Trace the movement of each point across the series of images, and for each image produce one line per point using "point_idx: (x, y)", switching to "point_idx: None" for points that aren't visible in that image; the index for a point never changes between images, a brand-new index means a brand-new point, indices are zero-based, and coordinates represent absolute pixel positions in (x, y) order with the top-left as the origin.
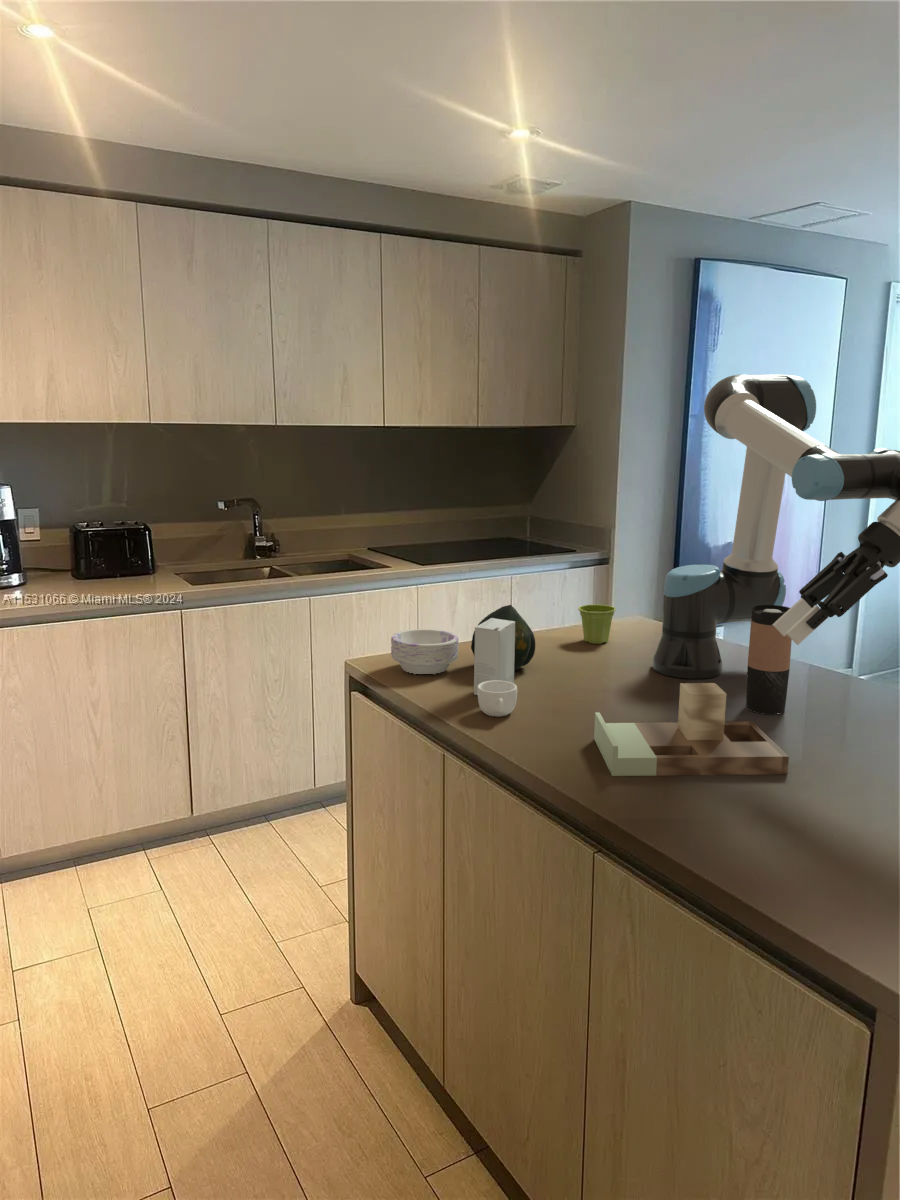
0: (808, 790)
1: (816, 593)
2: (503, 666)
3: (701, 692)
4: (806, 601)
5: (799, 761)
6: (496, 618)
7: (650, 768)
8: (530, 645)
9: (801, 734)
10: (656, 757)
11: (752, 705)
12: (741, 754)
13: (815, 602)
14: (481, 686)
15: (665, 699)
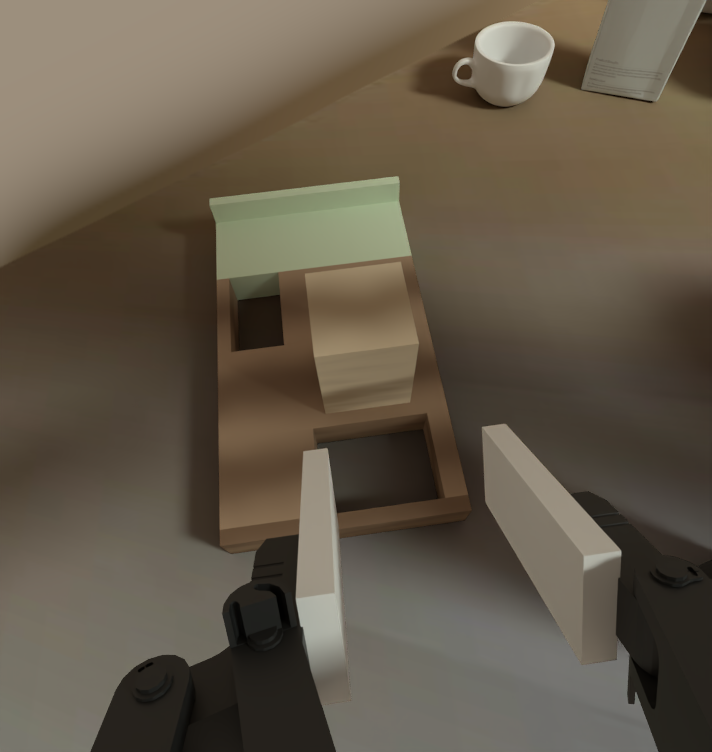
0: (140, 579)
1: (667, 695)
2: (619, 31)
3: (323, 300)
4: (622, 603)
5: None
6: None
7: None
8: None
9: (525, 676)
10: (218, 279)
11: (703, 566)
12: (233, 436)
13: (640, 691)
14: (518, 29)
15: (708, 358)
